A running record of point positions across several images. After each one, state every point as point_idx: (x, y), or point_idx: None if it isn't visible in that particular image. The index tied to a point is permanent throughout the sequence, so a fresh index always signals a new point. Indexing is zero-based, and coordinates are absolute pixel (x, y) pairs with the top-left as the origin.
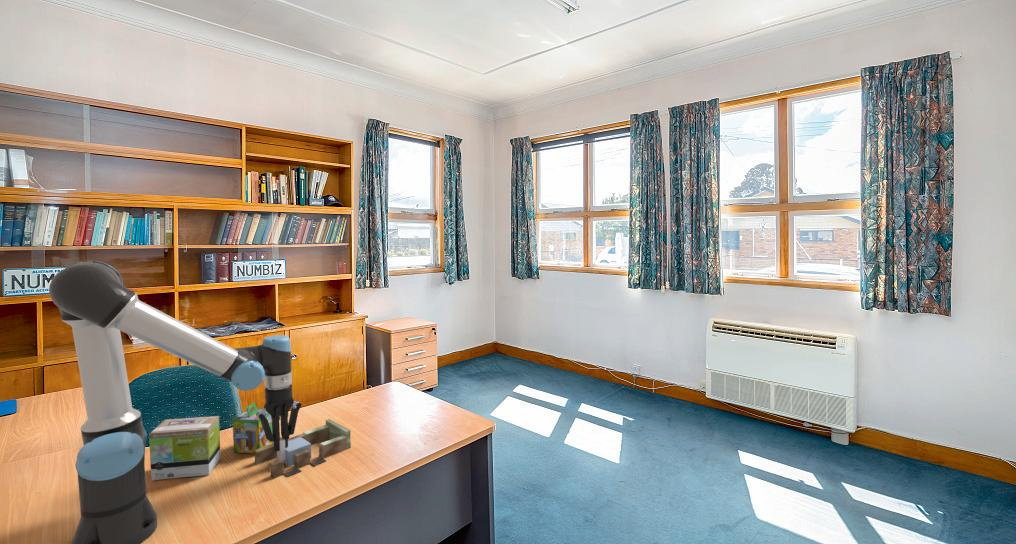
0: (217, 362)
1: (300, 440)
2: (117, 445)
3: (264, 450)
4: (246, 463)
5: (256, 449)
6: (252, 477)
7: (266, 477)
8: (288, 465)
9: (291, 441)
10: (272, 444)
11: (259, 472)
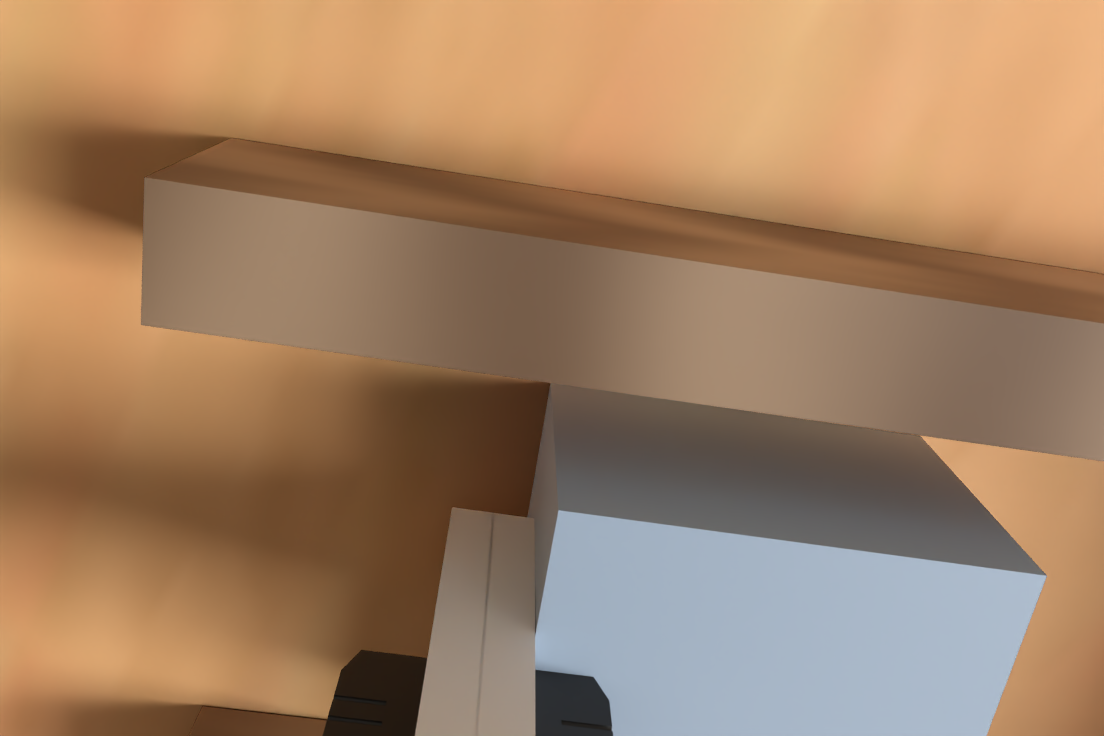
0: None
1: (917, 704)
2: None
3: (309, 341)
4: (113, 37)
5: (192, 187)
6: (4, 547)
7: (144, 695)
8: None
9: (795, 603)
10: (549, 264)
11: (137, 503)
